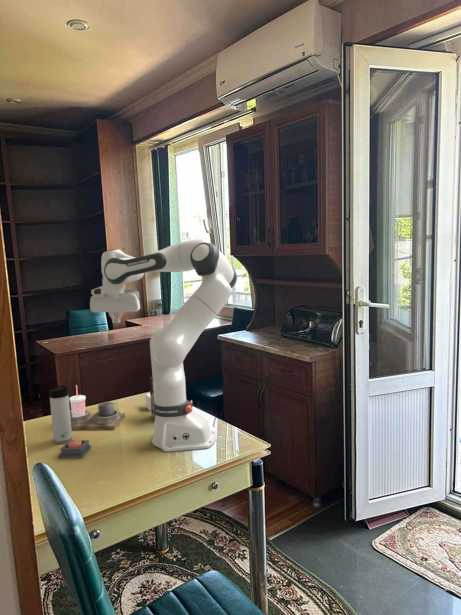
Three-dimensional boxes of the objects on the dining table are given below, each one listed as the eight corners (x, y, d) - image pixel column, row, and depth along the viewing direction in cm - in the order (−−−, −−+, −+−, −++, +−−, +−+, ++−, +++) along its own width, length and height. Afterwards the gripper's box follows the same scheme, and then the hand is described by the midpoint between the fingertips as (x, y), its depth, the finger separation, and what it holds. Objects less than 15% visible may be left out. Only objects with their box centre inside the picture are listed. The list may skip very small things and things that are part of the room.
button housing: (91, 447, 161) (90, 439, 160) (82, 458, 153) (81, 449, 152) (69, 447, 161) (68, 439, 161) (58, 458, 153) (58, 449, 153)
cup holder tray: (124, 416, 188) (123, 399, 187) (114, 429, 176) (113, 410, 175) (72, 417, 190) (70, 399, 189) (58, 429, 177) (56, 411, 176)
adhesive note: (159, 404, 202) (159, 391, 201) (164, 408, 197) (163, 395, 196) (146, 407, 199) (145, 393, 198) (150, 411, 194) (150, 397, 193)
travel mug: (67, 444, 164) (62, 389, 161) (50, 443, 165) (45, 389, 162) (76, 437, 170) (71, 384, 167) (59, 436, 171) (55, 383, 168)
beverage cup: (89, 420, 182) (86, 385, 180) (73, 423, 179) (70, 388, 177) (84, 415, 187) (82, 381, 186) (69, 419, 184) (66, 384, 182)
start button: (84, 446, 159) (83, 439, 158) (79, 451, 154) (78, 445, 154) (71, 446, 159) (71, 439, 159) (66, 451, 155) (65, 445, 154)
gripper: (141, 287, 194) (143, 320, 195) (93, 289, 195) (95, 321, 197) (136, 289, 187) (138, 323, 189) (87, 290, 189) (89, 324, 191)
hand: (116, 322), depth 193 cm, fingers closed
